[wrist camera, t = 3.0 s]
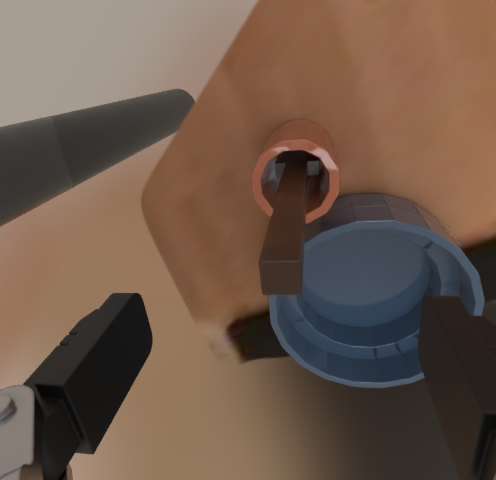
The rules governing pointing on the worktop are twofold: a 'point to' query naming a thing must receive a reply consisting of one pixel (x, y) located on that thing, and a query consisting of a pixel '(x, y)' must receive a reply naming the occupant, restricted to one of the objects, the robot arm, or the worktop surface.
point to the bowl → (370, 290)
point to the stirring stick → (287, 225)
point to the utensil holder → (319, 186)
